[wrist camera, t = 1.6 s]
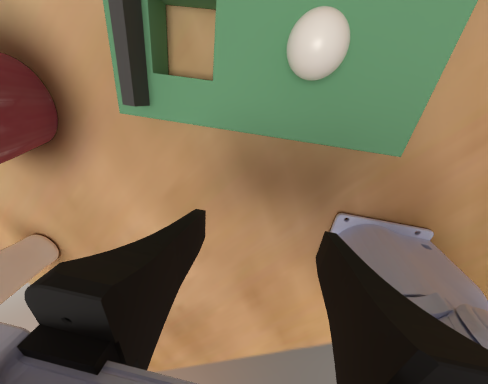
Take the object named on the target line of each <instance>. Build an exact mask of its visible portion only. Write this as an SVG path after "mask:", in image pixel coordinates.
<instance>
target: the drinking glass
mask: <svg viewBox="0 0 488 384" xmlns="http://www.w3.org/2000/svg"><path fill="white" fill-rule="evenodd" d="M58 256H59V251H58V248H57V247H56V245H55V244H54V243H53V242H52V241H51V240H50V239H48V238H46V237H44V236H42V235H30V236H28V237H26V238H24V239H22V240H20V241H18V242H16V243H15V244H12V245H10V246H8V247H6V248H4V249H2V250H0V305H1V304H2V303H3V302H4V301H5V300H7V299H8V298H9V297H10V296H11V295H13V294H14V293H15V292H16V291H17V290H19V289H20V288H21V287H22V286H24V285H25V284H26V283H27V282H28V281H30V280H31V279H32V278H33V277H34V276H36V275H37V274H38V273H39V272H41V271H42V270H43V269H44V268H46V267H47V266H48V265H50V264H51V263H53V262H54V261H55V260H56V259H57V258H58Z"/></svg>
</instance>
